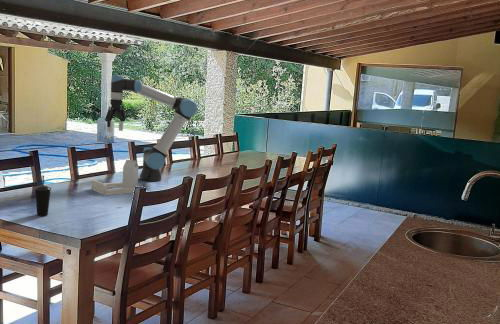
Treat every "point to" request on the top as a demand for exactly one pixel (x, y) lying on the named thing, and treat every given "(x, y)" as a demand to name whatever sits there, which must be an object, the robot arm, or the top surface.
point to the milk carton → (130, 174)
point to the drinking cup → (42, 199)
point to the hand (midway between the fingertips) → (115, 131)
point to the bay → (103, 187)
